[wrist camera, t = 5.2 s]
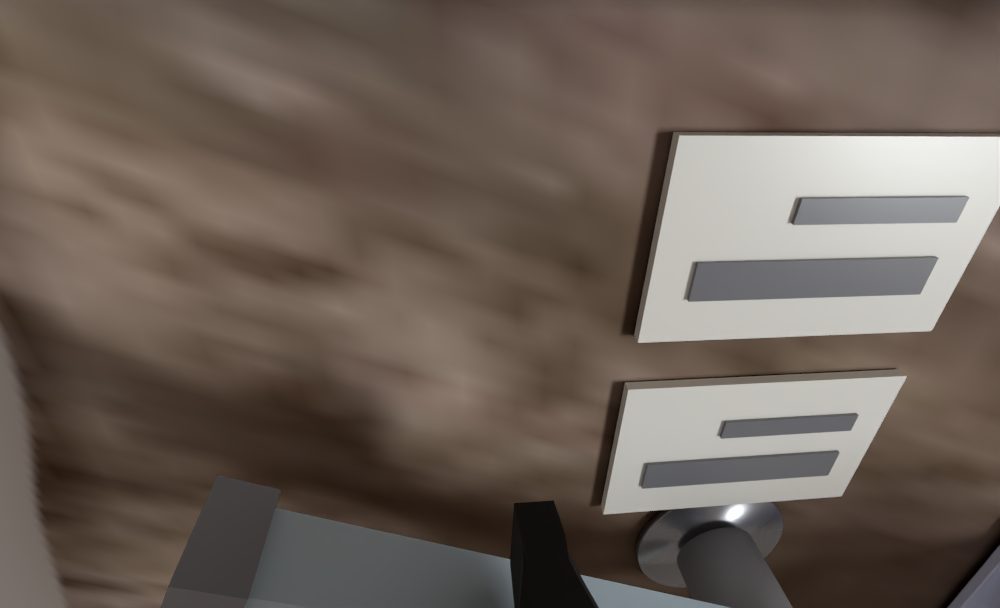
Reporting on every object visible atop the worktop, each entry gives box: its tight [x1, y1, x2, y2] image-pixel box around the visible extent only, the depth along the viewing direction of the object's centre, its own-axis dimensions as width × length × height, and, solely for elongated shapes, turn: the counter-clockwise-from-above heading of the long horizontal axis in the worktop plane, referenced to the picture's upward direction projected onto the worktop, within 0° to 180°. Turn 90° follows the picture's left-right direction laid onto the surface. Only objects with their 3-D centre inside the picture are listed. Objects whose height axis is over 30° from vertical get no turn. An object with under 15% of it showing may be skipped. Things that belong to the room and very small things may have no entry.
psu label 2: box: [601, 369, 907, 515], centre depth 16 cm, size 8×5×1 cm, turn 88°
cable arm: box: [161, 475, 793, 608], centre depth 13 cm, size 16×3×5 cm, turn 62°
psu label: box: [634, 132, 1000, 343], centre depth 12 cm, size 8×5×1 cm, turn 88°
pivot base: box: [635, 502, 784, 588], centre depth 18 cm, size 5×5×1 cm
